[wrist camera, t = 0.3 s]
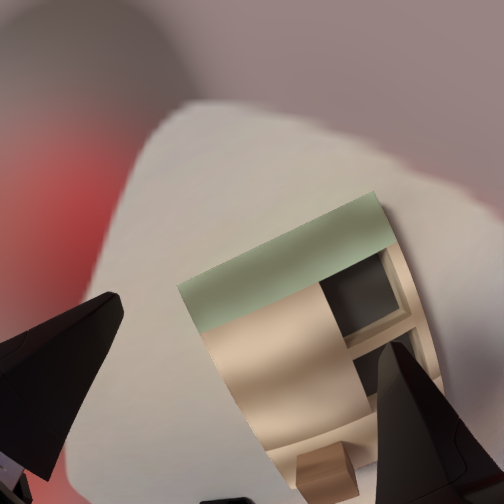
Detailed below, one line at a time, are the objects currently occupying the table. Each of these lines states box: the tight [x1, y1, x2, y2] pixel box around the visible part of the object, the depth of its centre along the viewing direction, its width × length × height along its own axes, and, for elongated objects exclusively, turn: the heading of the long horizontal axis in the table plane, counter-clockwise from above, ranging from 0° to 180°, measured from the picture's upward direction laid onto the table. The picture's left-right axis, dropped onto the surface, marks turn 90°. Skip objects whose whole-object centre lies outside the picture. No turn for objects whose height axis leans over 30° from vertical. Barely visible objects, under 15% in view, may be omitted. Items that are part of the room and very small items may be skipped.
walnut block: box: [296, 441, 359, 504], centre depth 17 cm, size 4×4×4 cm
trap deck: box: [177, 191, 445, 489], centre depth 20 cm, size 22×16×3 cm
